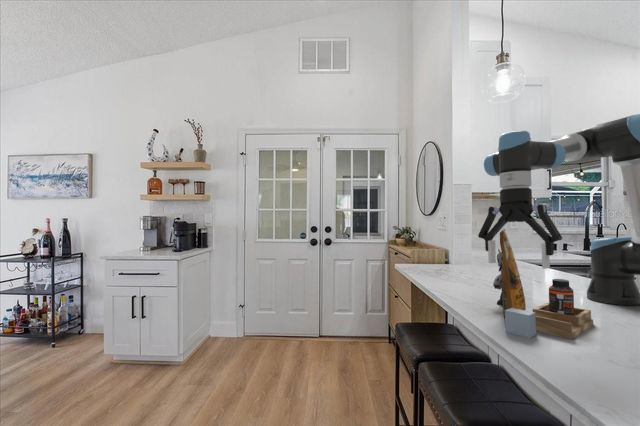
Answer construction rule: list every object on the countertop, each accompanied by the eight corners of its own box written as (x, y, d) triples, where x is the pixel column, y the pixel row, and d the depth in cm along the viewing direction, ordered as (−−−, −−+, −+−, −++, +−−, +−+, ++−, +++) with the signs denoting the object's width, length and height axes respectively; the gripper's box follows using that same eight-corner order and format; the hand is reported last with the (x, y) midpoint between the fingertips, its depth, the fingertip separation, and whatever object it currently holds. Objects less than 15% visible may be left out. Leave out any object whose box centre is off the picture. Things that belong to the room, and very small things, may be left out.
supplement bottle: (566, 322, 91) (565, 282, 91) (544, 316, 96) (543, 279, 96) (579, 319, 93) (577, 280, 93) (557, 314, 99) (555, 277, 99)
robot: (506, 310, 108) (504, 251, 109) (490, 308, 112) (488, 250, 112) (519, 299, 123) (517, 247, 123) (504, 297, 126) (503, 246, 127)
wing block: (512, 328, 91) (511, 307, 91) (536, 334, 86) (535, 312, 86) (505, 332, 89) (504, 310, 89) (529, 338, 84) (528, 315, 84)
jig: (545, 315, 103) (545, 302, 103) (593, 324, 93) (592, 310, 93) (520, 327, 92) (520, 313, 92) (571, 339, 82) (571, 323, 82)
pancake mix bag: (494, 320, 98) (491, 230, 99) (505, 306, 113) (502, 227, 114) (520, 325, 94) (516, 230, 95) (528, 309, 109) (525, 227, 109)
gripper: (465, 191, 96) (466, 261, 96) (564, 182, 76) (567, 272, 76) (478, 192, 101) (479, 259, 100) (575, 184, 80) (578, 269, 80)
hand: (517, 265), depth 88 cm, fingers open, 13 cm apart
